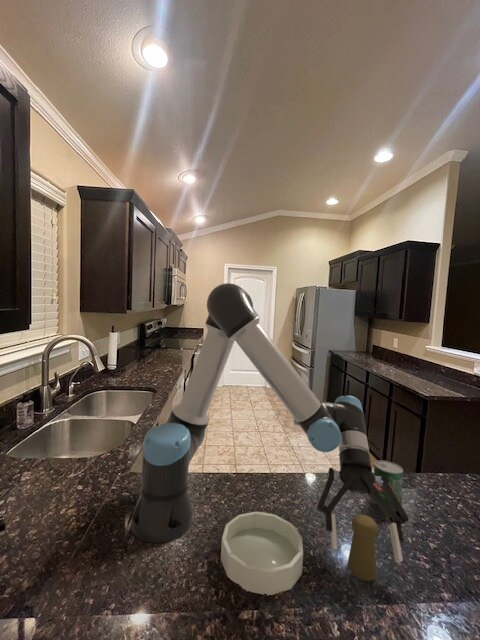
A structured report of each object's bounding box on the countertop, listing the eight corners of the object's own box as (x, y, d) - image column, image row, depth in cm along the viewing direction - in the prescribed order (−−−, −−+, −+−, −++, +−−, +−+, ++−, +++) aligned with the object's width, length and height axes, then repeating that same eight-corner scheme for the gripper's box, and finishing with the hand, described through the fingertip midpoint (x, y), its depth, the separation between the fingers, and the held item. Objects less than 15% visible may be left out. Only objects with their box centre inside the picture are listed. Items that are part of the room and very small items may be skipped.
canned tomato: (404, 503, 91) (406, 467, 91) (397, 514, 85) (399, 476, 85) (377, 491, 96) (379, 457, 96) (368, 501, 90) (370, 465, 90)
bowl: (213, 584, 59) (214, 562, 59) (230, 525, 76) (231, 507, 76) (303, 602, 56) (305, 578, 56) (299, 536, 74) (300, 518, 74)
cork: (380, 583, 61) (383, 530, 62) (349, 577, 63) (352, 525, 63) (373, 561, 67) (376, 512, 67) (345, 555, 69) (348, 507, 69)
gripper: (399, 464, 78) (422, 568, 63) (305, 452, 82) (305, 548, 67) (408, 453, 73) (436, 563, 58) (307, 441, 77) (308, 542, 62)
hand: (366, 556), depth 63 cm, fingers open, 12 cm apart
